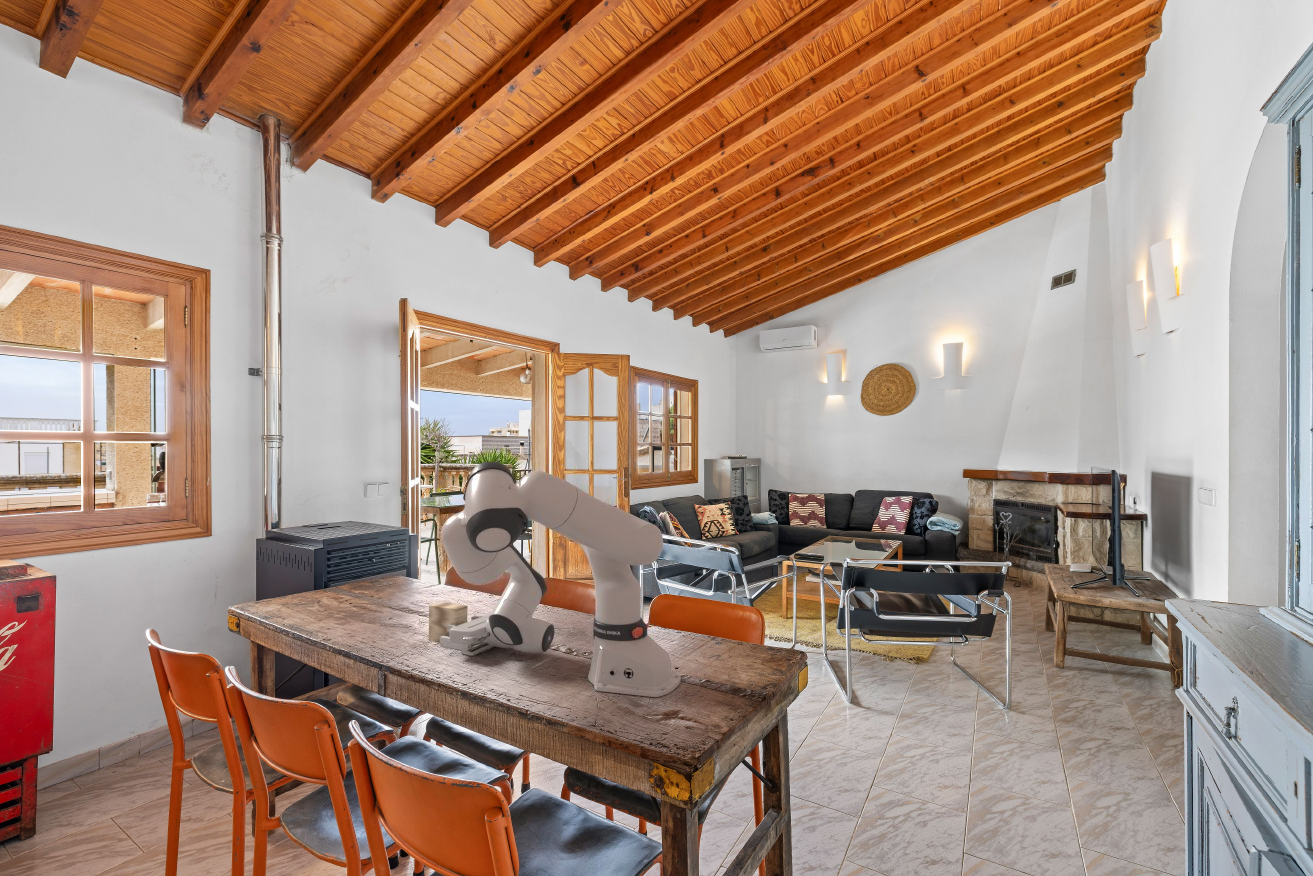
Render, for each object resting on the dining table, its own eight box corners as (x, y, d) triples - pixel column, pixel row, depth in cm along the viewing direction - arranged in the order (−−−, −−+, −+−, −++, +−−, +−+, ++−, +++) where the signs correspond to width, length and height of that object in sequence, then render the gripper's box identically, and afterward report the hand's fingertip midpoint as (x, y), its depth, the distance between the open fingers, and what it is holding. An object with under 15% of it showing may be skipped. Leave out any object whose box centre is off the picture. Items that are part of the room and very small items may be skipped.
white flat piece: (489, 641, 168) (489, 633, 168) (467, 651, 160) (467, 642, 160) (462, 636, 173) (462, 628, 173) (439, 646, 165) (439, 636, 165)
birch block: (467, 641, 169) (467, 605, 169) (455, 645, 165) (456, 609, 165) (440, 636, 173) (440, 601, 174) (428, 640, 169) (429, 605, 169)
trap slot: (506, 641, 169) (506, 637, 169) (472, 656, 156) (472, 653, 156) (497, 639, 171) (497, 636, 171) (462, 654, 158) (462, 650, 158)
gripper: (473, 653, 151) (432, 645, 157) (523, 631, 170) (485, 625, 176) (474, 628, 152) (433, 621, 157) (523, 609, 170) (485, 603, 176)
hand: (461, 623), depth 167 cm, fingers open, 8 cm apart
